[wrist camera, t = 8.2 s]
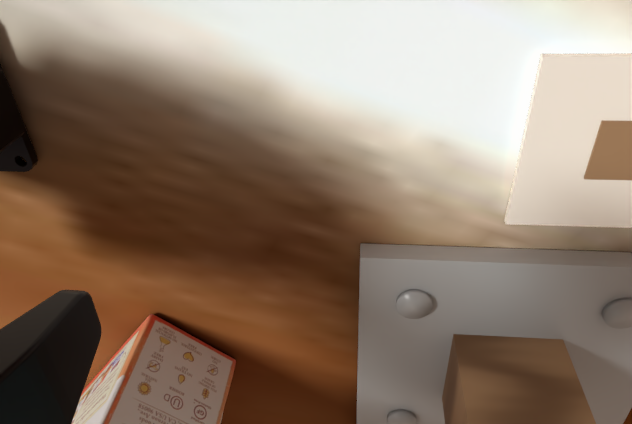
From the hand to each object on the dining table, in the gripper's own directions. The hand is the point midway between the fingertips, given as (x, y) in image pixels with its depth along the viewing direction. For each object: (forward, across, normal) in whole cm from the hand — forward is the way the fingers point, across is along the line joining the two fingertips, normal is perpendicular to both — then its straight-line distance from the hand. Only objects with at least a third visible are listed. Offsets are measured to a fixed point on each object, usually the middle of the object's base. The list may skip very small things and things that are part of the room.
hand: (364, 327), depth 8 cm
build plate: (+12, -8, +15) cm, 21 cm away
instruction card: (+12, -11, +2) cm, 17 cm away
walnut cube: (+11, -8, +15) cm, 20 cm away
